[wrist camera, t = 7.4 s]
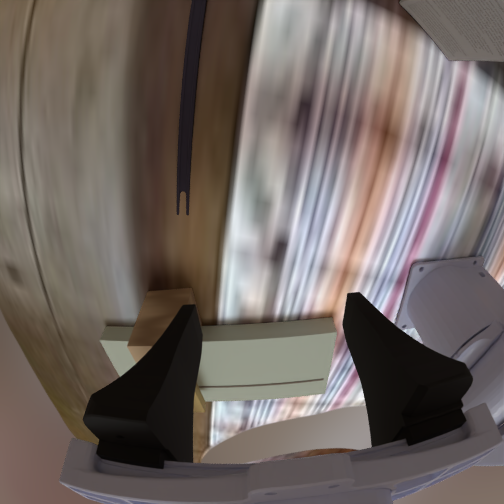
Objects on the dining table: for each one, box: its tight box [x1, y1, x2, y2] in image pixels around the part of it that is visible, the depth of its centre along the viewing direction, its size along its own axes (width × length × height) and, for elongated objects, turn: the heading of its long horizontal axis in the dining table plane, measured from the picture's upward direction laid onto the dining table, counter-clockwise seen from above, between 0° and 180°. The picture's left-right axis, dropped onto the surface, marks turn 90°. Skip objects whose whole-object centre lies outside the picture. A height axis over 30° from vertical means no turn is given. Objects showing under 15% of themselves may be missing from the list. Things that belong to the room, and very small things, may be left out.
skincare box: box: [399, 0, 504, 62], centre depth 8 cm, size 6×4×12 cm
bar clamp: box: [177, 0, 207, 215], centre depth 15 cm, size 32×2×10 cm
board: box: [100, 317, 337, 401], centre depth 28 cm, size 22×10×2 cm, turn 94°
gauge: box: [127, 288, 206, 412], centre depth 25 cm, size 4×12×6 cm, turn 6°
